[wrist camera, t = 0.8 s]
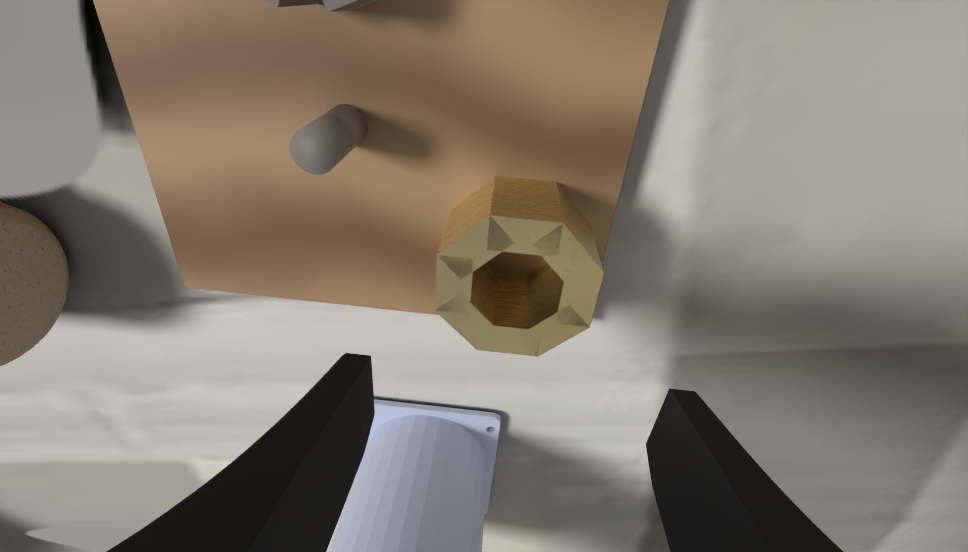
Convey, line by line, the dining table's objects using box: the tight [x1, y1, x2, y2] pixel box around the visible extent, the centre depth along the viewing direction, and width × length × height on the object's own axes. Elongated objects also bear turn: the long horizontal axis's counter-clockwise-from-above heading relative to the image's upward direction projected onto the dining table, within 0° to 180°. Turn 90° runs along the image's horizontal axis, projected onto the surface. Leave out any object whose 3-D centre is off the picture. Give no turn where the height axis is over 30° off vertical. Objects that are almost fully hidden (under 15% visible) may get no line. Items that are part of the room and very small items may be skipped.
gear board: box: [93, 0, 669, 331], centre depth 15 cm, size 18×18×5 cm
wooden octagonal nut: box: [435, 175, 604, 356], centre depth 17 cm, size 5×5×4 cm
